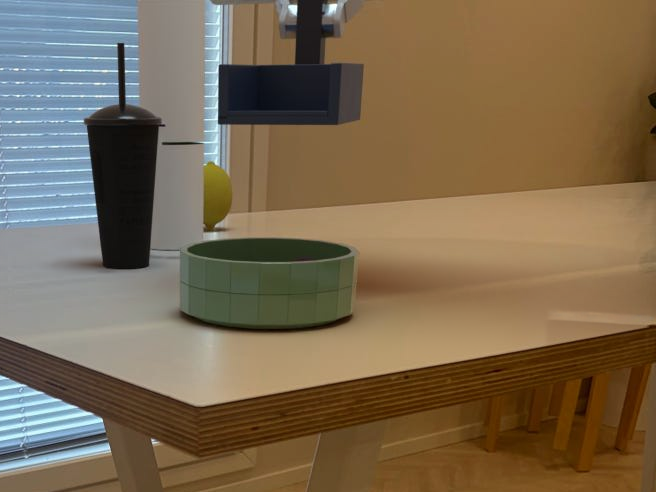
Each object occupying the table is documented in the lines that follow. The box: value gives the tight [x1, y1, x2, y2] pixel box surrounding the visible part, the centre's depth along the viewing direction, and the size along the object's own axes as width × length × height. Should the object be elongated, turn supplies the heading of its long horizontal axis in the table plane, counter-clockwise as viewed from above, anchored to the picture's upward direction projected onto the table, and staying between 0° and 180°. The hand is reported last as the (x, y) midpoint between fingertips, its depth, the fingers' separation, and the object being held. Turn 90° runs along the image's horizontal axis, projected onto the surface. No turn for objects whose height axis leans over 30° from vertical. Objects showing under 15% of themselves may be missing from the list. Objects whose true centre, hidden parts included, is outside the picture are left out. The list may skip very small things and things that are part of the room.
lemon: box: [203, 160, 233, 231], centre depth 130 cm, size 6×6×8 cm
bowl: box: [179, 236, 360, 330], centre depth 83 cm, size 14×14×5 cm
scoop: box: [217, 0, 365, 126], centre depth 77 cm, size 9×12×10 cm
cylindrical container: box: [137, 0, 206, 251], centre depth 113 cm, size 7×7×25 cm
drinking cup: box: [83, 42, 162, 270], centre depth 102 cm, size 8×8×20 cm
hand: (310, 32), depth 80 cm, fingers closed on scoop
